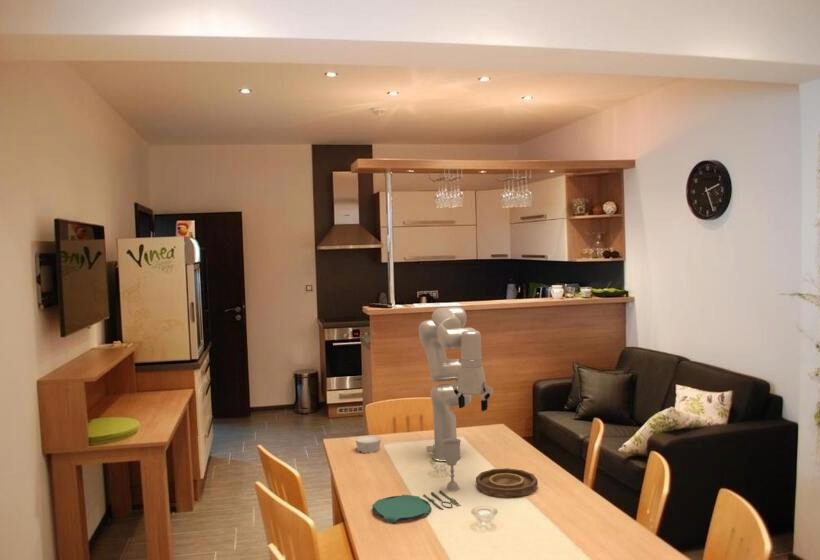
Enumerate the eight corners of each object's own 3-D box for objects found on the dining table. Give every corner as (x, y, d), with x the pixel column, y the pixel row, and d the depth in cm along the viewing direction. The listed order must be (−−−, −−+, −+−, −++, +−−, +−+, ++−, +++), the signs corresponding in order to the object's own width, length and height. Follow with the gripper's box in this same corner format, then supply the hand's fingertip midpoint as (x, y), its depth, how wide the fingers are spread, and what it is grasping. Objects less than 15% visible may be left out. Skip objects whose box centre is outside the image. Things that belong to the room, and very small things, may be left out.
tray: (468, 493, 233) (468, 485, 233) (488, 473, 253) (487, 465, 253) (527, 501, 223) (527, 493, 223) (543, 480, 243) (542, 472, 243)
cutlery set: (364, 506, 224) (364, 500, 224) (440, 492, 237) (440, 486, 237) (386, 529, 206) (386, 522, 206) (466, 512, 219) (466, 505, 219)
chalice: (462, 485, 241) (461, 438, 240) (462, 492, 234) (460, 443, 233) (443, 485, 242) (441, 438, 241) (442, 492, 235) (440, 443, 234)
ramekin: (352, 448, 291) (352, 437, 291) (375, 445, 295) (375, 433, 295) (361, 455, 281) (360, 443, 280) (384, 451, 285) (384, 439, 285)
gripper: (446, 363, 241) (448, 408, 242) (487, 367, 231) (488, 413, 232) (457, 360, 247) (458, 404, 248) (496, 363, 237) (498, 409, 238)
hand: (472, 408), depth 240 cm, fingers open, 9 cm apart
